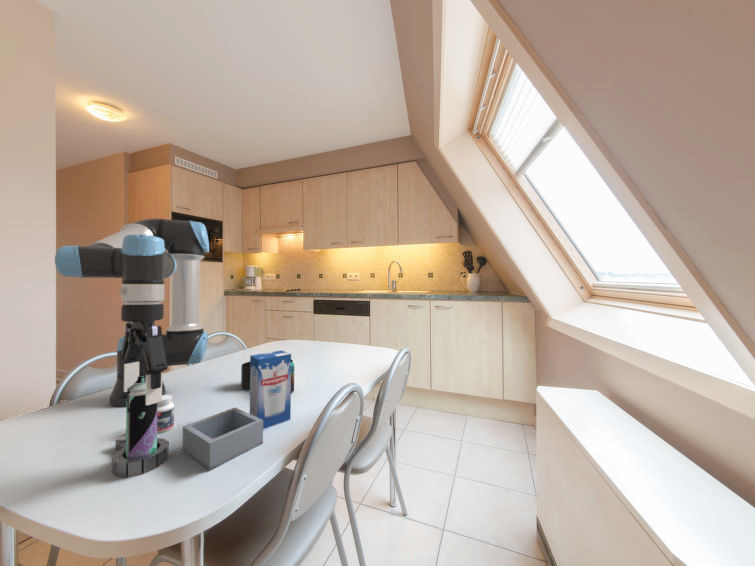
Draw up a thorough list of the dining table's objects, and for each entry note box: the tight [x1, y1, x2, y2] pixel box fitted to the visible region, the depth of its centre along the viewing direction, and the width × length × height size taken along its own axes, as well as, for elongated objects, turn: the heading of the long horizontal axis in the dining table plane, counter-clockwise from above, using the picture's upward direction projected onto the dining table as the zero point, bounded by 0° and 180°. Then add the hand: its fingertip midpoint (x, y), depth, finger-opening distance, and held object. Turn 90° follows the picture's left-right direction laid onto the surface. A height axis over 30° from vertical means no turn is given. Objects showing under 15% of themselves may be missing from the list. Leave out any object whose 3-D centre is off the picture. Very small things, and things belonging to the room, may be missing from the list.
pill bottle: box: [157, 394, 175, 434], centre depth 81 cm, size 5×5×9 cm
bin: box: [182, 407, 264, 471], centre depth 72 cm, size 13×13×6 cm
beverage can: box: [291, 359, 295, 394], centre depth 108 cm, size 7×7×12 cm
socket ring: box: [111, 433, 170, 479], centre depth 68 cm, size 17×10×3 cm, turn 56°
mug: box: [240, 361, 250, 391], centre depth 113 cm, size 9×12×9 cm
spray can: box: [125, 375, 158, 459], centre depth 65 cm, size 6×6×20 cm
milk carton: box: [249, 349, 292, 430], centre depth 86 cm, size 10×6×20 cm, turn 135°
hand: (141, 396), depth 65 cm, fingers open, 13 cm apart
